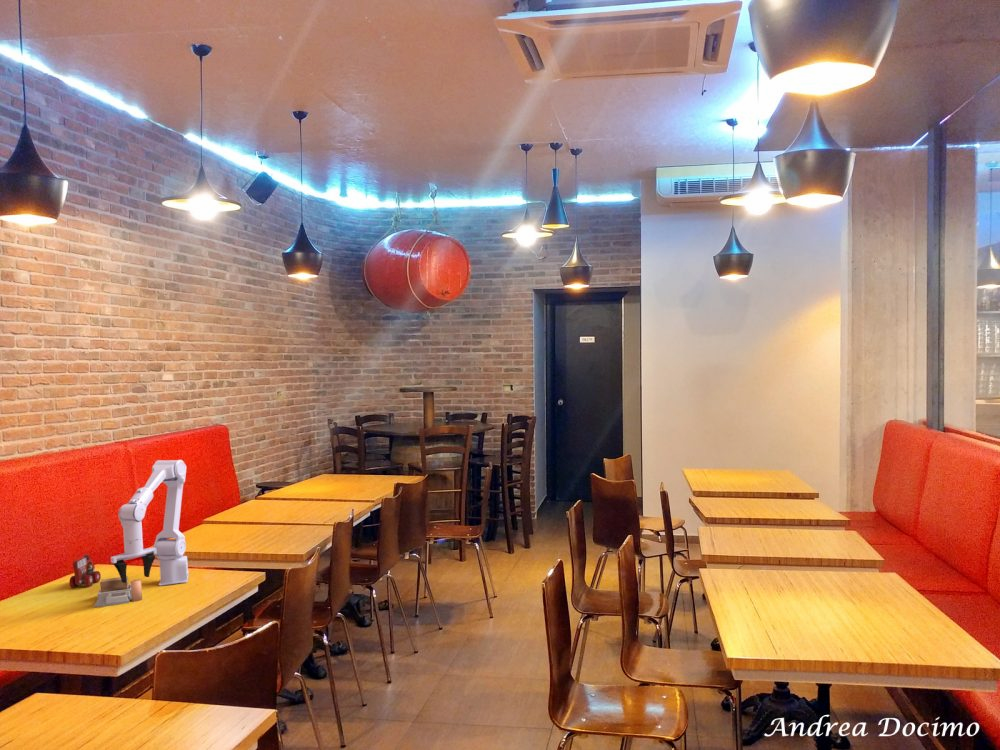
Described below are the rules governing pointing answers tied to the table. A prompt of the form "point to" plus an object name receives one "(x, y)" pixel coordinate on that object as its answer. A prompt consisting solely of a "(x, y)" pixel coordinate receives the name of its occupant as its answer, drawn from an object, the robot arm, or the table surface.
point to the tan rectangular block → (113, 584)
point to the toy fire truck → (84, 572)
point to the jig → (113, 597)
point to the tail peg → (136, 590)
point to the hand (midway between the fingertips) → (135, 579)
